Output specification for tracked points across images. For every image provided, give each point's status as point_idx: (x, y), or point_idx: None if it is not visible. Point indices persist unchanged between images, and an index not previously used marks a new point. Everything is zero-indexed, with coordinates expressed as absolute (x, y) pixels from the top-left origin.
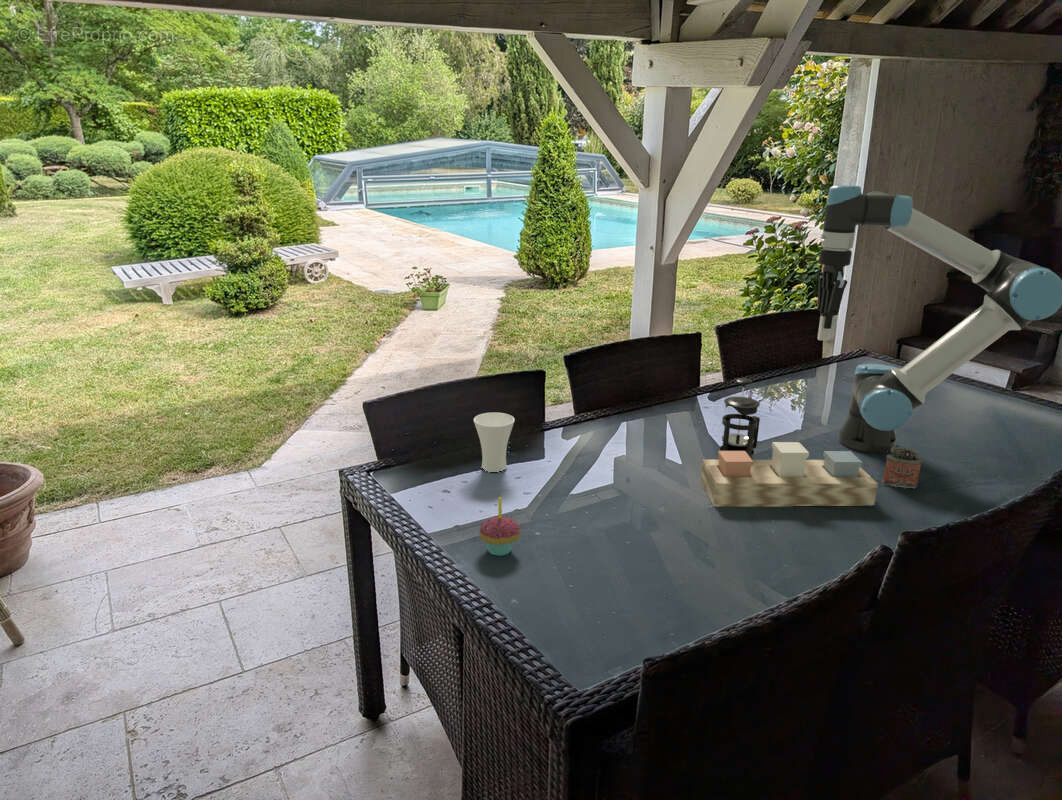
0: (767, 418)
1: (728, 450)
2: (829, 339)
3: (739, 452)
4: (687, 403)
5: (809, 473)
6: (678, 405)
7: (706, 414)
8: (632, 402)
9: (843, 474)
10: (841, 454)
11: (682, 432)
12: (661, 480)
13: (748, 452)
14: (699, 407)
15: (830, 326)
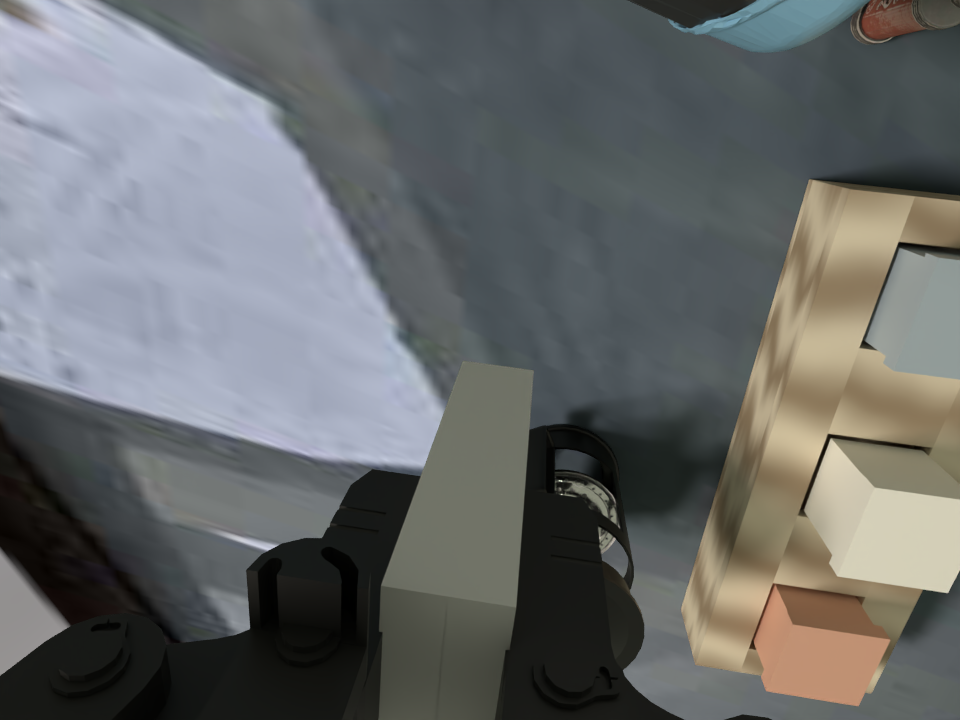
0: (157, 191)
1: None
2: (530, 378)
3: (800, 644)
4: (39, 420)
5: (909, 423)
6: (66, 455)
7: (143, 400)
8: (64, 572)
9: None
10: (956, 318)
11: (317, 527)
12: (651, 683)
13: (619, 490)
14: (73, 396)
15: (598, 537)
